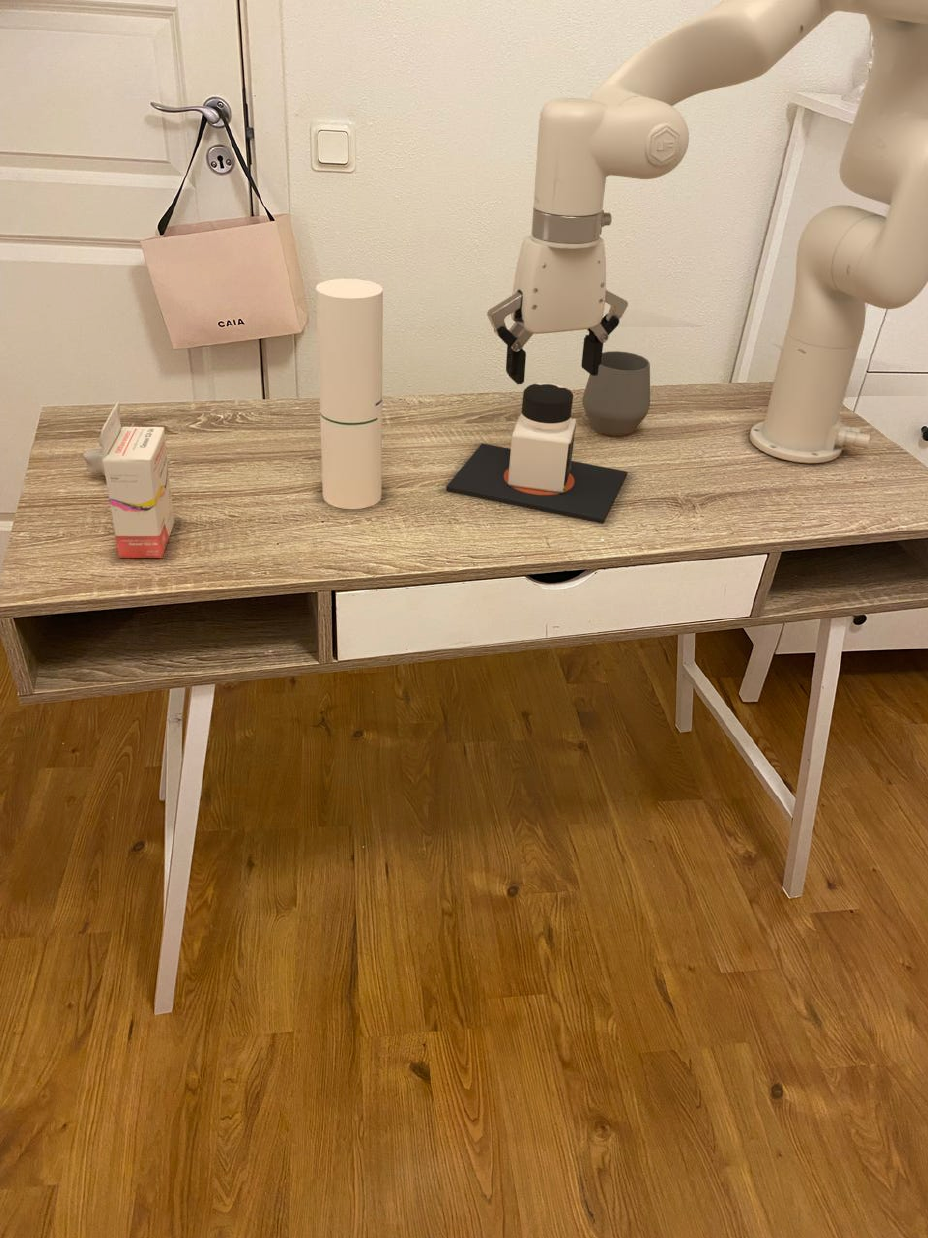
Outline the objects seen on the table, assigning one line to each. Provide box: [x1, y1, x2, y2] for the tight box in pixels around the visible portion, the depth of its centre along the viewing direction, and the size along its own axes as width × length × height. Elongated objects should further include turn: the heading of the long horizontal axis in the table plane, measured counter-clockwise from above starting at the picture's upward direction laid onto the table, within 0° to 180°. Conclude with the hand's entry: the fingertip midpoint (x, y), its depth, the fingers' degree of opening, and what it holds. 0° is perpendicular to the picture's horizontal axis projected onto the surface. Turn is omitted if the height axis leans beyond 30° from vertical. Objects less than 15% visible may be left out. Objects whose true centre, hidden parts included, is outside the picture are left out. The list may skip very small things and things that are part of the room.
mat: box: [445, 443, 628, 524], centre depth 127 cm, size 20×14×1 cm
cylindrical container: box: [315, 278, 384, 510], centre depth 115 cm, size 7×7×25 cm
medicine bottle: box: [508, 381, 577, 493], centre depth 123 cm, size 7×7×12 cm
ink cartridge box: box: [100, 401, 175, 559], centre depth 106 cm, size 9×5×15 cm, turn 5°
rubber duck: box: [82, 422, 114, 477], centre depth 120 cm, size 5×7×8 cm
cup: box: [581, 350, 651, 437], centre depth 139 cm, size 10×9×10 cm
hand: (553, 375), depth 119 cm, fingers open, 9 cm apart
